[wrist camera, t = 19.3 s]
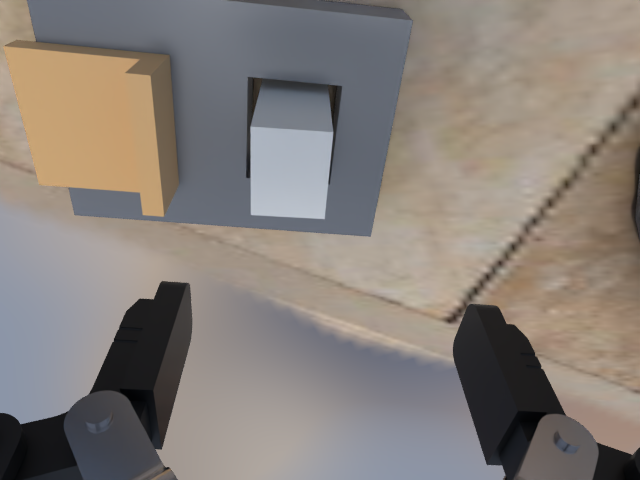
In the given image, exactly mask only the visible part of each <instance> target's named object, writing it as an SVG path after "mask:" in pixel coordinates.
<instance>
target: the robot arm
mask: <svg viewBox="0 0 640 480" xmlns="http://www.w3.org/2000/svg"><path fill="white" fill-rule="evenodd" d="M191 334H192V309H191V293H190V285H189V283H180V282H166V281H162V282H161V283H160V285H159V287H158V290H157V292H156V295H155V298H154V299H139V300H138V301H137V302H136V303H135V304H134V305H132V307H130V308H129V309H128V310H127V311H126V313H125V315H124V317H123V320H122V322H121V324H120V327H119V330H118V331H117V333H116V336H115V338H114V342H113V343H112V345H111V347H110V349H109V352H108V354H107V356H106V359H105V361H104V363H103V365H102V367H101V370H100V372H99V374H98V376H97V379H96V381H95V383H94V386H93V388H92V390H91V391H90V393H89V394H88V395H87V396H85V397H83V398H82V399H80V400H79V401H77V402H76V403H75V404H74V405H73V406H72V407H71V409H70V410H69V411H68V412H66V413H63V414H61V415H58V416H55V417H51V418H47V419H43V420H38V421H33V422H30V423H25V424H20V423H19V421H18V420H17V419H16V418H15V417H13V416H11V415H9V414H5V413H0V480H178V479H177V478H176V476H175V475H174V473H173V471H172V470H171V469H170V468H169V467H167V468H166V467H165V466H164V465H163V463H162V461H161V460H160V458H159V456H158V454H157V452H156V450H155V449H162V447H163V443H164V439H165V435H166V432H167V428H168V424H169V420H170V417H171V413H172V409H173V405H174V402H175V398H176V394H177V390H178V386H179V383H180V379H181V375H182V371H183V368H184V364H185V360H186V357H187V353H188V349H189V345H190V341H191ZM453 357H454V362H455V365H456V368H457V371H458V374H459V378H460V380H461V384H462V387H463V390H464V394H465V397H466V400H467V403H468V406H469V409H470V412H471V416H472V419H473V422H474V425H475V428H476V432H477V435H478V438H479V441H480V444H481V448H482V451H483V454H484V457H485V460H486V464H487V465H502V466H503V469H504V472H505V474H506V475H505V476H504V478H503V480H640V448H639V449H638V450H637V451H636V452H635V453H634V454H633V455H631V454H628V453H625V452H622V451H619V450H616V449H614V448H611V447H608V446H605V445H602V444H599V443H597V442H596V441H595V439H594V438H593V436H592V435H591V433H590V432H589V431H588V430H587V429H586V428H585V427H584V426H583V425H581V424H580V423H579V422H577V421H576V420H574V419H572V418H570V417H568V416H566V414H565V413H564V411H563V409H562V407H561V405H560V402H559V400H558V398H557V396H556V394H555V392H554V390H553V388H552V386H551V384H550V382H549V380H548V378H547V376H546V374H545V372H544V370H543V369H541V364H540V362H539V360H538V358H537V357H535V352H534V350H533V348H532V346H531V344H530V342H529V340H528V338H527V337H526V336H525V335H524V334H523V333H522V332H521V331H520V330H519V329H518V328H517V327H516V326H515V325H512V324H506V322H505V319H504V317H503V315H502V313H501V311H500V309H499V308H498V307H497V306H495V305H480V304H470V305H469V306H468V307H467V309H466V312H465V314H464V317H463V319H462V322H461V324H460V327H459V329H458V332H457V334H456V337H455V340H454V344H453Z"/></svg>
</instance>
